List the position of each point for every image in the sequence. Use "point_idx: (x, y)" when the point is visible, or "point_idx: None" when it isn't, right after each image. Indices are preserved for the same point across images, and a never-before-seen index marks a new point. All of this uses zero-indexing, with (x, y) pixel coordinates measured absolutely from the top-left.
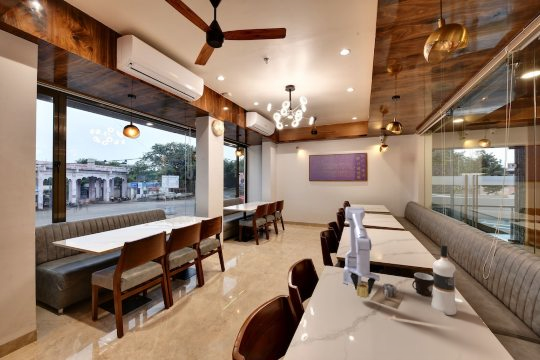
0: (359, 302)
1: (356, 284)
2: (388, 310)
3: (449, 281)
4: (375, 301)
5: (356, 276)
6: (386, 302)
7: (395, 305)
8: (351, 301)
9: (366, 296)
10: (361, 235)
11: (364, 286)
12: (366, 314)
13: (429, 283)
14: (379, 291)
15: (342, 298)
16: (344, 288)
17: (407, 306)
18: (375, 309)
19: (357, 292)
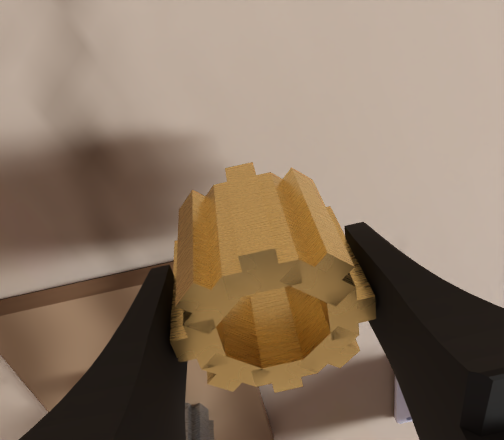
0: (283, 176)
1: (377, 292)
2: (33, 266)
3: None
4: None
5: (451, 433)
6: (101, 335)
7: (26, 350)
8: (353, 127)
9: (180, 219)
10: None
11: (270, 342)
12: (88, 18)
13: None
14: (242, 409)
15: (457, 100)
16: (498, 268)
17: (10, 402)
18: (107, 191)
19: (307, 193)
